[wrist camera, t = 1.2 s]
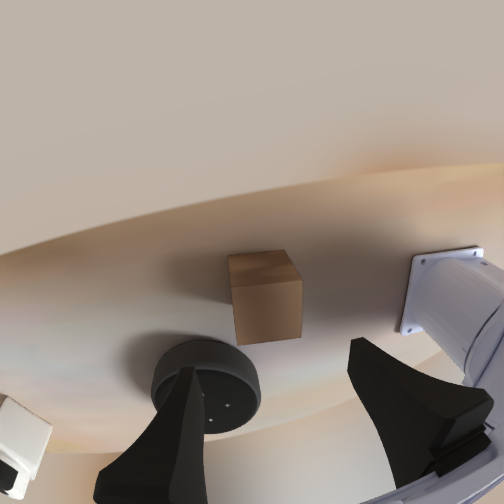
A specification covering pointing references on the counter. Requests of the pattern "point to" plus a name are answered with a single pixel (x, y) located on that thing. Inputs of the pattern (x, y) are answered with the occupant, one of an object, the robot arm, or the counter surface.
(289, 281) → the walnut block
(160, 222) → the counter surface
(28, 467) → the medicine bottle
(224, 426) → the smart speaker
